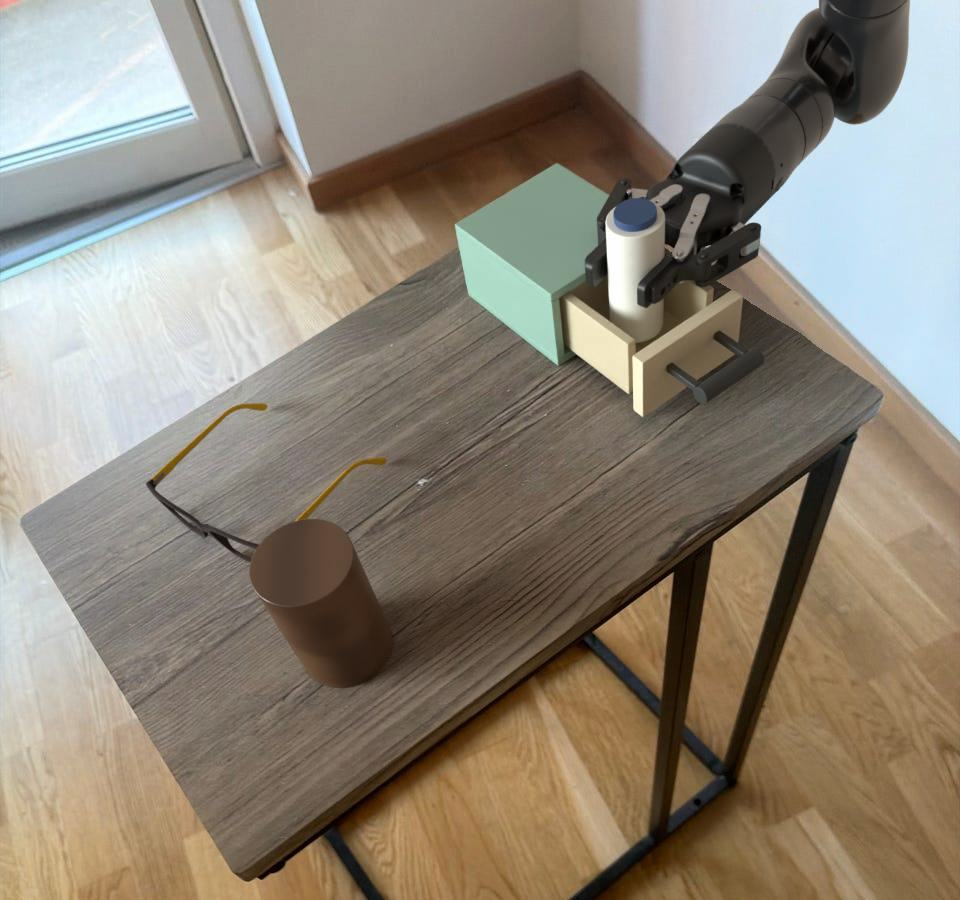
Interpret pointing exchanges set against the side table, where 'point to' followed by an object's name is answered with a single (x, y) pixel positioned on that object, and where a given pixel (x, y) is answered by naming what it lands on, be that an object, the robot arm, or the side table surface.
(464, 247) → the cabinet
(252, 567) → the stand
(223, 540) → the eyeglasses
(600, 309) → the drawer
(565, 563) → the side table surface
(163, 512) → the side table surface
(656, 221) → the tube
